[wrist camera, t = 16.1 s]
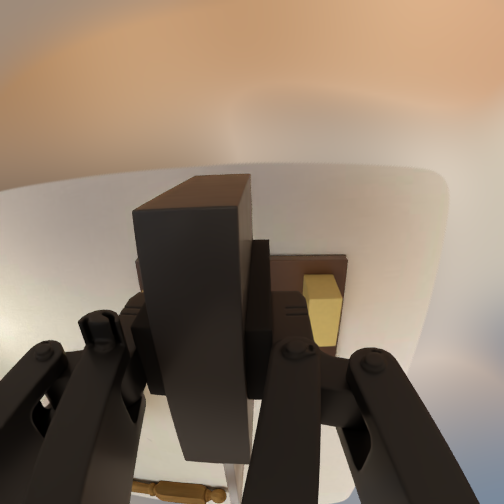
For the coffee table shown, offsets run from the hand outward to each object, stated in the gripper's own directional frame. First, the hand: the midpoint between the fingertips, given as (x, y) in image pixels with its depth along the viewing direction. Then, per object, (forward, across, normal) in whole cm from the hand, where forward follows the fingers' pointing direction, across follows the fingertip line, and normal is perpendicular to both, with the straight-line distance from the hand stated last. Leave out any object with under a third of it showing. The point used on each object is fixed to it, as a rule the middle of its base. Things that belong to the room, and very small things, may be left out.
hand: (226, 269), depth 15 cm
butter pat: (+11, +6, -8) cm, 15 cm away
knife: (0, 0, -5) cm, 5 cm away
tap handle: (+12, -20, -49) cm, 54 cm away
